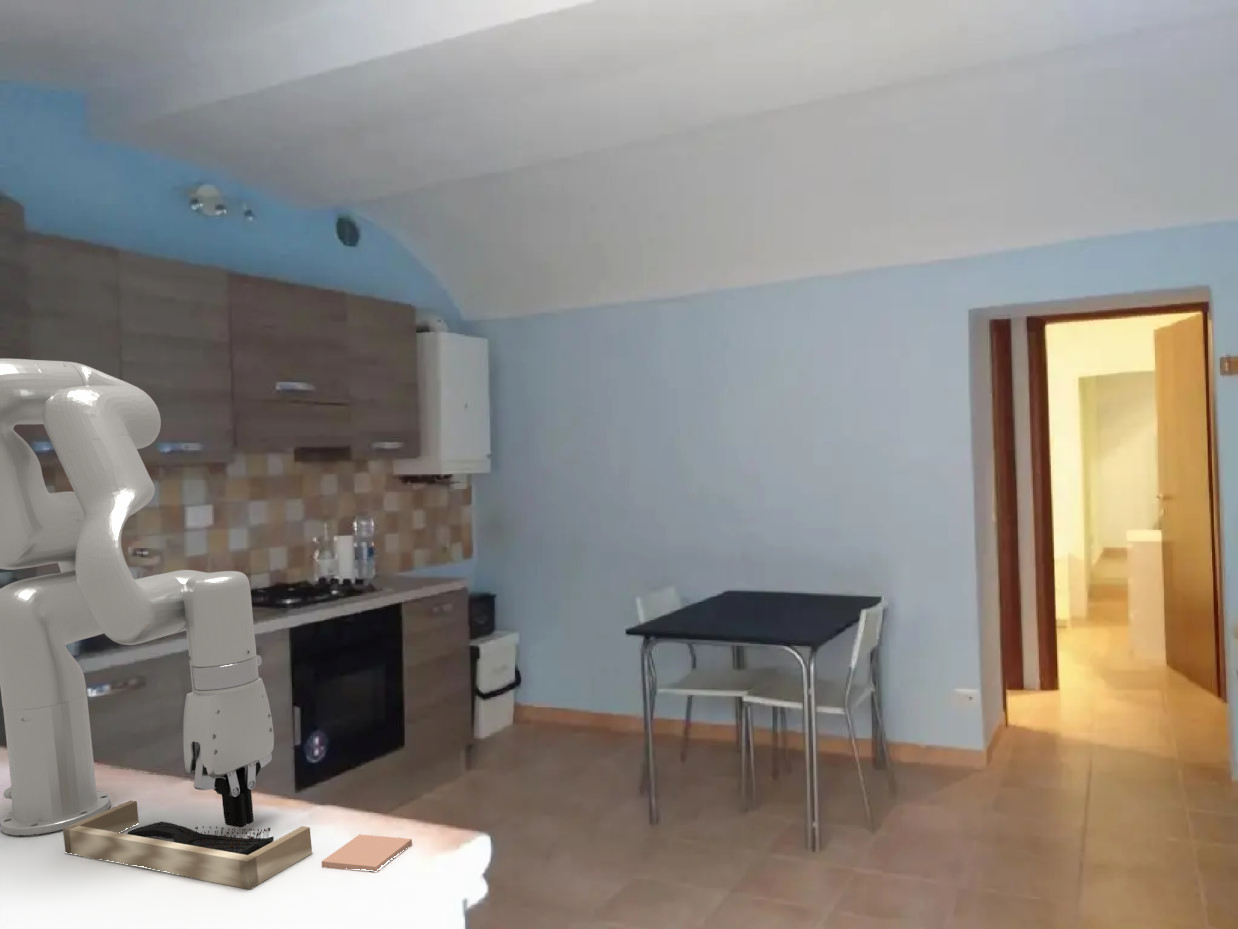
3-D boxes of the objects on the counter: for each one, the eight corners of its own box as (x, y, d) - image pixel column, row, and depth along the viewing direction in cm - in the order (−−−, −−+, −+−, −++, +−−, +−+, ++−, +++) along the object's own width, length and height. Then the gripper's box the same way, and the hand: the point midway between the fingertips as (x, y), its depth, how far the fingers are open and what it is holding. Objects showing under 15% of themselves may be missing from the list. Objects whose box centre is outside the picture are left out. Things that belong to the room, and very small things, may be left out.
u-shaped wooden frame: (65, 853, 117) (62, 828, 117) (132, 823, 125) (130, 800, 125) (249, 889, 104) (247, 861, 103) (312, 853, 112) (309, 827, 111)
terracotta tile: (322, 872, 108) (321, 861, 108) (360, 844, 114) (359, 834, 114) (376, 878, 105) (375, 867, 105) (412, 849, 112) (411, 839, 112)
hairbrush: (160, 802, 126) (289, 820, 112) (164, 830, 126) (293, 852, 112) (96, 827, 119) (226, 850, 105) (100, 857, 119) (230, 884, 105)
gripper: (252, 658, 128) (265, 798, 129) (150, 690, 115) (165, 845, 115) (294, 660, 124) (307, 804, 125) (193, 693, 111) (209, 854, 112)
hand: (239, 823), depth 120 cm, fingers closed
